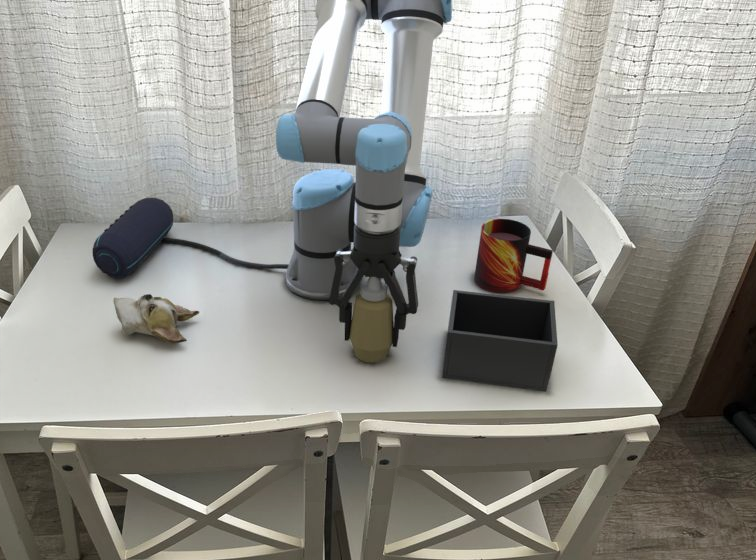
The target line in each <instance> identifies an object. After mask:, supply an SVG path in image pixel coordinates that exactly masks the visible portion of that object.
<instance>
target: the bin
mask: <svg viewBox="0 0 756 560" xmlns="http://www.w3.org/2000/svg"><path fill="white" fill-rule="evenodd" d="M558 344H559V343H558V331H557V318H556V305H555V300H548V299H540V298H530V297H521V296H513V295H503V294H496V293H486V292H485V293H484V292H477V291H467V290H458V289H453V290H452V297H451V304H450V312H449V319H448V326H447V334H446V341H445V349H444V356H443V357H444V358H443V365H442V366H443V367H442V372H441V373H442V374H441V378H442V379H448V380H455V381H456V380H457V381H463V382H470V383H476V384H486V385H493V386H500V387H507V388H516V389H523V390H529V391H530V390H532V391H538V392H545V393H547V390H548V387H549V383H550V379H551V374H552V371H553V366H554V363H555V359H556V355H557V350H558V347H559V346H558Z"/></svg>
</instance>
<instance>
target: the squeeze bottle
mask: <svg viewBox="0 0 756 560" xmlns="http://www.w3.org/2000/svg"><path fill="white" fill-rule="evenodd" d="M388 293H389V288H388V286H387V284H385V281H382V278H377V277H368V279H367V280H366V281H363V282H362V283H361V285H360V292H359V293H358V294H356V295H355V297H354V303H353V307H352V321H351V328H350V335H349V341H350V344H351V346H352V349H353V352H354V354H355V357H356V358H357V359H358V360H359V361H362V362H364V363H371V364H372V363H373V364H374V363H378V362H381V361H383V360H385V359H386V357H387V356H388V354H389V352H390V350H391V348H392V345H393V331H394V305H393V303H394V301H393V298H392V296H391V294H388Z"/></svg>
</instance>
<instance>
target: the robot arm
mask: <svg viewBox="0 0 756 560" xmlns="http://www.w3.org/2000/svg"><path fill="white" fill-rule="evenodd" d="M314 8H315V10H314V11H315V17H316V21H317V23H316V27H315V31H314V34H313V38H312V43H311V47H310V50H309V55H308V58H307V63H306V67H305V71H304V75H303V79H302V83H301V87H300V91H299V95H298V99H297V103H296V107H295V112H291V113H284V114H281V115H280V117H279V118H278V120H277V123H276V128H275V148H276V153H277V155H278V157H279V158H280V159H282V160H285V161H290V162H297V163H302V164H304V163H314V164H330V165H331V164H332V165H341V166H343V165H344V166H355V180H354V177H353V175H352V174H351V172H349V171H347V170H346V171H345V170H343V169H340V168H339V169H338V168H336V169H335V168H333V169H332V168H331V169H330V168H329V169H322V170H317V171H313V172H310V173H307V174H305V175H303V176H302V177H300V178H299V179H298V180H297V181H296V182H295V184H294V186H293V191H292V192H293V193H292V203H291V207H292V217H293V218H292V219H293V221H292V223H293V224H292V225H293V251H292V254H291V256H290V259H289V263H273V264H272V263H270V264H269V263H267V264H266V263H257V262H249V261H246V260H245V261H244V260H240V259H237V258H234V257H231V256H230V255H227V254H226V253H224V252H222V251H220V250H218V249H216V248H213V247H211V246H209V245H205V244H203V243H200V242H196V241H191V240H186V239H180V238H172V237H165V238H164V239H163V240H162V241H161V242H160V243H172V244H180V245H185V246H191V247H195V248H199V249H201V250H204V251H207V252H210V253H212V254H214V255H216V256H219V257H220V258H222V259H224V260H226V261H227V262H229V263H232V264H236V265H239V266H242V267H248V268H255V269H264V270H275V269H276V270H277V269H278V270H286V272H285V280H286V281H285V283H286V286H287V288H288V289H289V290H290V291H291V292H292V293H294V294H295V295H297V296H298V297H302V298H304V299H309V300H314V301H315V300H316V301H328V304H329V305H331V306H334V305H335V306H337V307H338V321H339V323H342V324H344V341H345V342H349V341H350V339H349V335H350V328H351V321H352V315H353V302H350V301H351V298H352V297H353V295H354V294H355V292H356V290H357V288H358V286H359V285H360V283H361V282H362V280H363V278H364V277H365V278H369V277H377V278H381V280H382V279H383V282H384V283H385V284H387V286H388V292H389V293H390V296H391V298H392V301H393V303H394V305H395V307H396V309H395V313H394V316H393V323H394V331H393V344H392V346H391V348H392V347H393V348H397V347H398V343H399V338H400V331H404V330H405V329H406V325H407V317H408V316H407V315H410V314H412V315H416V314H417V312H418V309H419V308H418V307H419V298H418V297H419V296H418V288H417V279H416V277H417V276H416V269H417V263H418V258H417V257H416V256H410V257H406V256H403V255H402V253H401V251H400V247H401V248H402V247H404V248H413V247H416V246H418V245H419V244H420V242H421V240H422V237H423V234H424V231H425V228H426V223H427V219H428V215H429V211H430V207H431V201H432V197H433V192H434V189H433V188H432V187H430V186H429V185H427V176H426V175H425V174H424V172H423V171H422V170H421V158H422V148H423V141H424V131H425V122H426V114H427V113H426V112H427V102H428V93H429V84H430V74H431V66H432V55H433V47H434V41H435V40H436V39H437V38H438V37H439V36H440V35H441V34H443V30H444V24H447V23H450V22H452V18H453V16H452V15H453V0H316V4H315V7H314ZM367 20H373V21H381V23H380V29H381V31H382V32H383V33H384V34H385V36H386V37H387V42H386V43H387V44H386V52H385V53H386V56H385V64H384V72H383V83H382V93H381V103H380V113H379V115H377V116H376V117H374V118H365V117H364V118H363V117H345V116H341V111H342V106H343V101H344V97H345V92H346V87H347V84H348V79H349V74H350V69H351V64H352V59H353V54H354V49H355V45H356V40H357V36H358V31H359V30H360V29H362V27H363V26H364V24H365V22H366V21H367ZM426 185H427V186H426ZM352 245H353V247H352ZM400 265H401V266H402V270H403V272H405V283H406V290H407V300H408V303H407V300H406V298H405V296H404V293H403V291H402V288H401V285H400V283H399V280H398V278H397V276H396V271H395V269H396V268H397V267H399V266H400Z"/></svg>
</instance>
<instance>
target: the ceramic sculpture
mask: <svg viewBox="0 0 756 560" xmlns="http://www.w3.org/2000/svg"><path fill="white" fill-rule="evenodd" d="M113 306H114V310H115V315H116V318H117V320H118V321H119V323H120V324H121V330H122V332H123V333H124V334H125V335H126V336H131V335H133V334H134V333H139V334H145V335H149V336H153V337H155V338H157V339H158V340H160V341H161V342H163V343H166V344H179V343H184V342H187V341H188V340H187V339H186V338H185V337H184V335H182V333H181V332H180V330H179V329H177V328H176V327H177V324H178V322H186V321H188V320H190V319H192V318H194V317H196V316H197V315H199V314H200V311H199V310H189V309H188V308H185V307H184V306H181V305H180V304H179V305H178V304H174V303H173V302H172V301H171V300H170V299H168V298H162V297H161V296H153V295H152V294H151V293H148V294H143V295H141V296H139V298H138V299H134V298H130V297H127V296H126V297H114V298H113Z"/></svg>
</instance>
